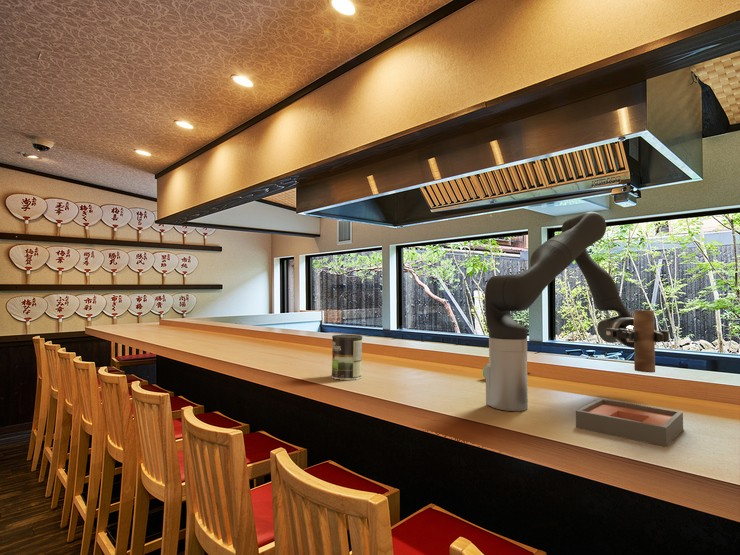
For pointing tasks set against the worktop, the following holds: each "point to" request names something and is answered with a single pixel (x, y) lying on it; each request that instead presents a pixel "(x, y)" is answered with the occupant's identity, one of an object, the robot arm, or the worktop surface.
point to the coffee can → (346, 357)
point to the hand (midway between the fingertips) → (647, 337)
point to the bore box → (631, 421)
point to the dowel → (644, 341)
